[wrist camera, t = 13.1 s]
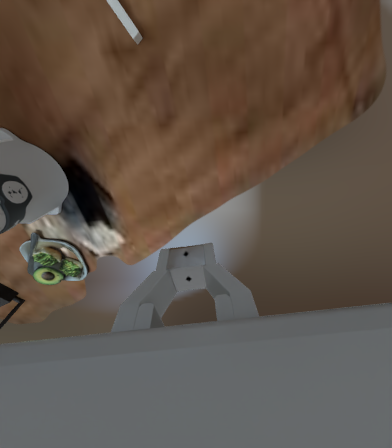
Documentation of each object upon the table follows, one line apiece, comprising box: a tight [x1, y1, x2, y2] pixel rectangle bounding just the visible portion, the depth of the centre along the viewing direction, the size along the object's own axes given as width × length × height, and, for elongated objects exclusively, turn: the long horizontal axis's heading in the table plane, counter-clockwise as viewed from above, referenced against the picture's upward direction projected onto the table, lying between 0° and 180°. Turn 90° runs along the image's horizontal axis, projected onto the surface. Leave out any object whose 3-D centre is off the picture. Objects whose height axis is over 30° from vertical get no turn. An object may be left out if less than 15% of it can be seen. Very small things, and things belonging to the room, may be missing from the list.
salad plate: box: [20, 233, 88, 285], centre depth 49 cm, size 19×18×5 cm
